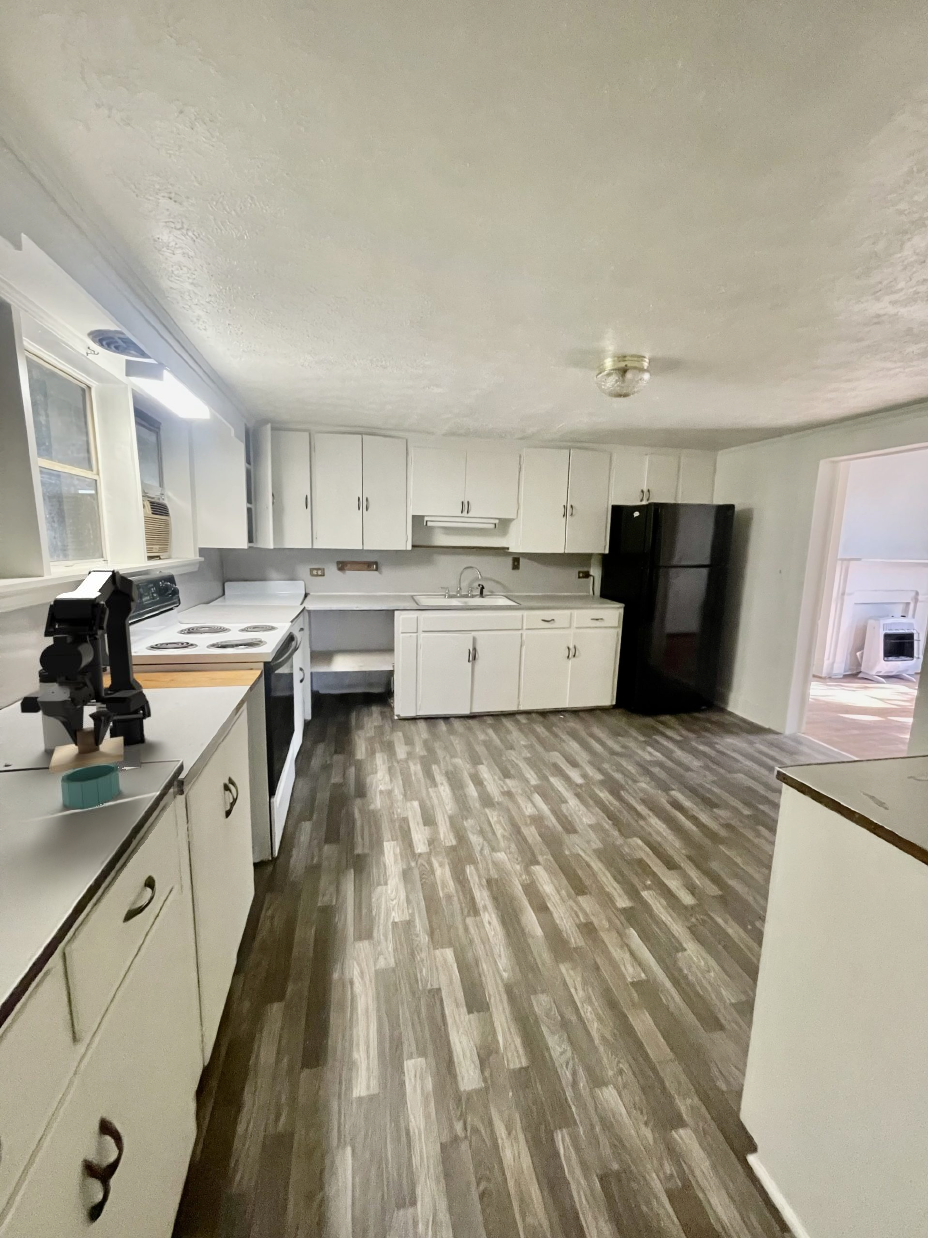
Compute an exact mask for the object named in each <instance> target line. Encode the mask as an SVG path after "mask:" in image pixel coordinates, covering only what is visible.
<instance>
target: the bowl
mask: <svg viewBox="0 0 928 1238" xmlns="http://www.w3.org/2000/svg"><path fill="white" fill-rule="evenodd" d="M60 785H61V786H60V787H61V796H62V805H63V806H66V807H67V808H74V809H71V810H73V811H75V810H77V811H78V810H79V811H80V810H87V809H92V808H96V806H97V807H99V806H98V805H100V804H103V803H105V802H108V801H109V800H112V799H114V798H115V797H116V796H117V795H119V794H120V788H121V787H120V772H119V770H118V766H117V765H114V764H100V765H95V766H89V767H83V768H78V769H75V770H73V769H72V770H69V771H68V772H67V773H65V774H63V775H61V779H60ZM103 805H104V804H103Z"/></svg>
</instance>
